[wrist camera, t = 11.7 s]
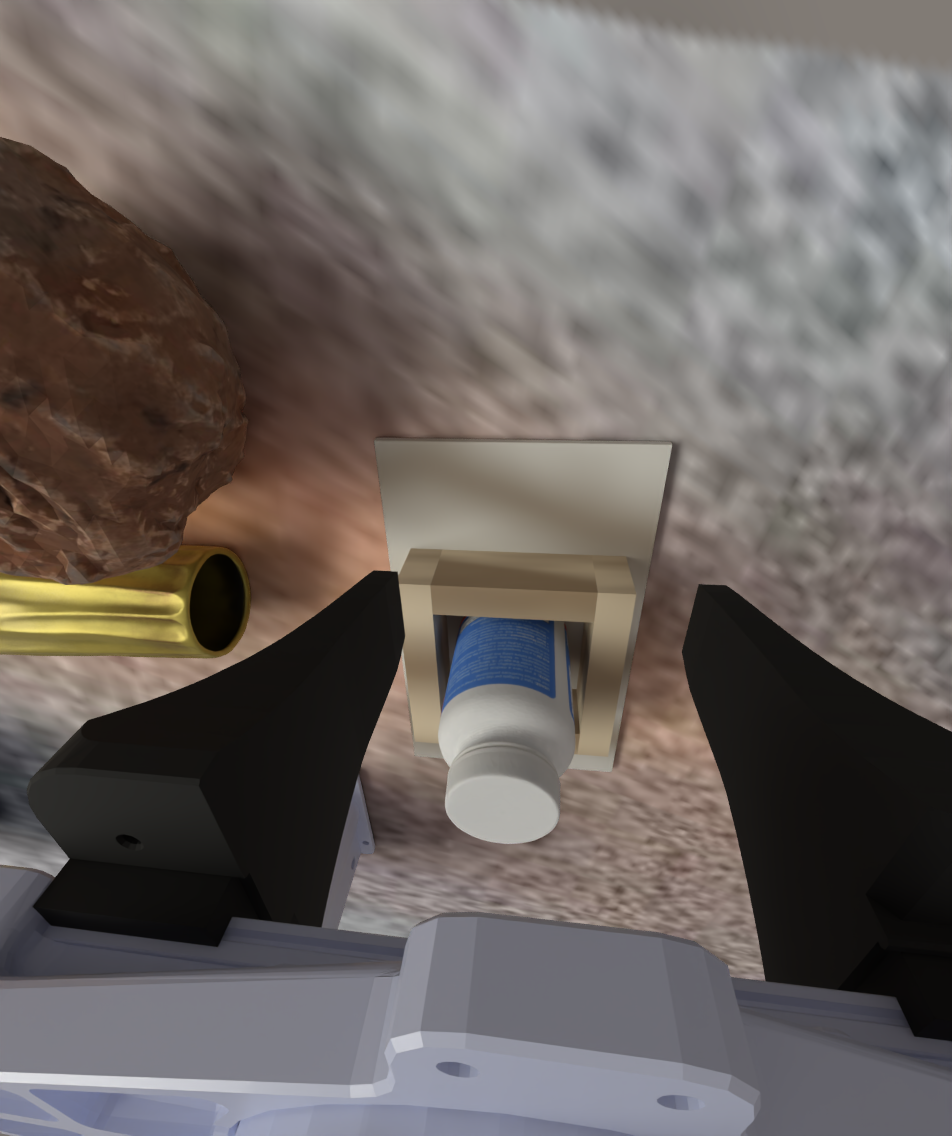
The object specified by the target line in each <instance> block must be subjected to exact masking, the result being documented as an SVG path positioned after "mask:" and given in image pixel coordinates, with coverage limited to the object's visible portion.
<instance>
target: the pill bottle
mask: <svg viewBox="0 0 952 1136" xmlns="http://www.w3.org/2000/svg"><path fill="white" fill-rule="evenodd" d="M438 741H439V746H440V750H441V753H442V755H443V758H444V759H445V761H446V762H447V764H448V765H449V767H450V769H449V772H448V778H447V789H446V796H445V809H446V812H447V815H448V817H449V818H450V820H451V821H452V822H453V823H454V824H455V825H456V826H457V827H458V828H459V829H461V830H462V831H464V832H465V833H467V834H469V835H471V836H473V837H476V838H479V839H481V840H485V841H489V842H494V843H502V844H517V843H525V842H530V841H534V840H537V839H539V838H541V837H543V836H545V835H547V834H548V833H549V832H551V831H552V830H553V829H554V828H555V826H556V825H557V823H558V820H559V816H560V781H559V777H560V776H561V775H562V774H563V773H564V772H565V771H566V770H567V768H568V767H569V765H570V763H571V761H572V759H573V756H574V752H575V723H574V711H573V697H572V682H571V670H570V656H569V643H568V634H567V629H566V625H565V622H564V621H551V620H532V619H512V618H493V617H473V616H463V618H462V620H461V623H460V627H459V631H458V635H457V640H456V646H455V651H454V656H453V660H452V665H451V670H450V675H449V679H448V684H447V689H446V693H445V697H444V702H443V707H442V711H441V717H440V724H439V730H438Z"/></svg>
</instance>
